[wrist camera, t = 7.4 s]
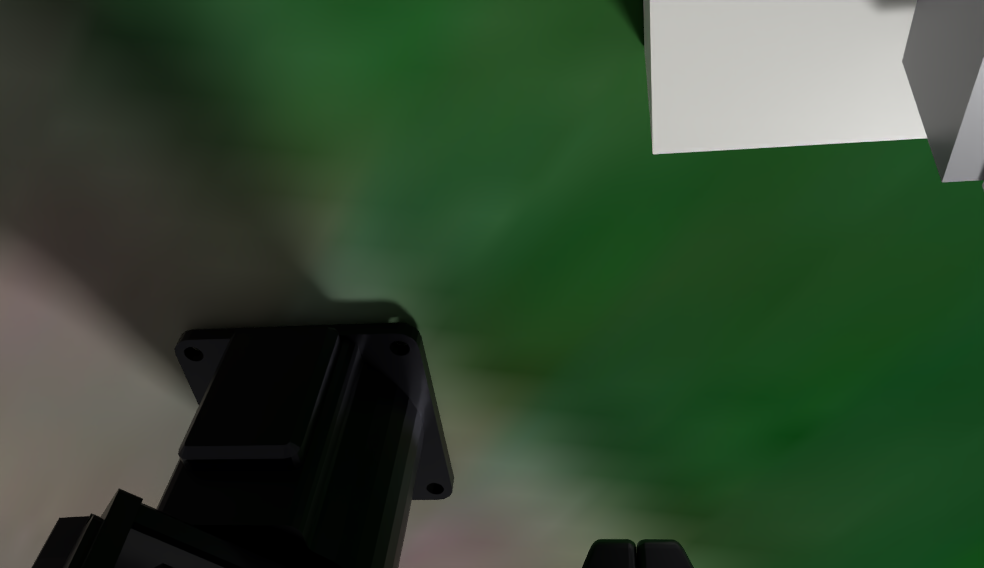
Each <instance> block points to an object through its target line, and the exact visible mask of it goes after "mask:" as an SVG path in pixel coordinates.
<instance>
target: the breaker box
mask: <svg viewBox="0 0 984 568" xmlns="http://www.w3.org/2000/svg"><path fill="white" fill-rule="evenodd" d="M916 3H917V0H643V8H644V49H645V62H646V74H647V87H648V100H649V112H650V125H651V137H652V150H653V154H665V153H682V152H699V151H716V150H733V149H750V148H767V147H784V146H801V145H818V144H835V143H852V142H869V141H886V140H903V139H920V138H927V135H926V132H925V129H924V126H923V123H922V120H921V117H920V114H919V111H918V108H917V105H916V102H915V99H914V96H913V93H912V90H911V87H910V84H909V81H908V78H907V75H906V72H905V69H904V66H903V63H902V59H903V55H904V51H905V47H906V43H907V39H908V35H909V31H910V27H911V23H912V19H913V15H914V11H915V7H916Z"/></svg>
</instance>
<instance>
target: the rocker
mask: <svg viewBox="0 0 984 568" xmlns="http://www.w3.org/2000/svg"><path fill="white" fill-rule="evenodd" d="M902 63H903V66H904V69H905V72H906V75H907V78H908V81H909V84H910V87H911V90H912V93H913V96H914V99H915V102H916V105H917V108H918V111H919V114H920V117H921V120H922V123H923V126H924V129H925V132H926V135H927V139H928V142H929V145H930V148H931V151H932V154H933V157H934V160H935V163H936V166H937V169H938V172H939V175H940V178H941V181H942V182H955V181H974V180H984V0H917V3H916V7H915V11H914V15H913V19H912V23H911V27H910V31H909V35H908V39H907V43H906V47H905V51H904V55H903V59H902ZM982 187H983V189H984V182H983V185H982Z"/></svg>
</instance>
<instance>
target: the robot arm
mask: <svg viewBox="0 0 984 568" xmlns="http://www.w3.org/2000/svg"><path fill="white" fill-rule="evenodd" d="M395 341H403V342H405V343H406V344H407V345H400V344H398V343H396V342H395ZM192 347H194V348H197V349H199V350H200V351H199V350H196V349H194V348H192ZM175 353H176V356H177V358H178V361H179V363H180V365H181V367H182V369H183V371H184V374H185V376H186V378H187V380H188V382H189V385H190V387H191V389H192V391H193V393H194V395H195V398H196V400H197V402H198V404H199V407H198V409H197V411H196V414H195V416H194V418H193V420H192V422H191V424H190V427H189V429H188V431H187V433H186V435H185V437H184V440H183V442H182V444H181V446H180V448H179V453H178V455H179V457H180V459H179V461H178V463H177V465H176V468H175V470H174V472H173V474H172V476H171V478H170V481H169V483H168V485H167V487H166V489H165V491H164V494H163V496H162V498H161V500H160V502H159V505H158V507H157V509H154V508H152V507H150V506H147V505H145V504H143V503H141V502H142V500H143V499H142V498H140V497H138V496H135V495H133V494H131V493H128V492H126V491H124V490H122V489H118V491H117V492H116V494H115V495H114V497H113V498H112V500H111V502H110V503H109V505H108V506H107V508H106V509H105V511H104V512H103V514H102V516H101V517H99V516H97V515H94V514H92V513H91V514H90V516H84V517H67V518H59V520H58V521H57V523H56V525H55V526H54V528H53V530H52V532H51V533H50V535H49V537H48V539H47V541H46V542H45V544H44V546H43V548H42V550H41V551H40V553H39V555H38V557H37V559H36V560H35V562H34V564H33V566H32V568H398V567H399V561H400V556H401V551H402V546H403V541H404V536H405V531H406V526H407V521H408V516H409V511H410V506H411V501H412V500H439V499H445V498H447V497H449V496H450V495H451V493H452V489H453V483H454V476H453V471H452V467H451V463H450V458H449V454H448V450H447V445H446V441H445V437H444V432H443V428H442V424H441V419H440V415H439V411H438V406H437V402H436V398H435V393H434V389H433V385H432V380H431V376H430V372H429V367H428V363H427V359H426V354H425V350H424V346H423V341H422V337H421V335H420V333H419V331H418V330H416V329H415V328H414V327H413V326H410V325H408V324H404V323H378V324H348V325H318V326H287V327H257V328H227V329H196V330H189V331H186V332H184V333H183V334H182V335H181V337H180V339H179V341H178V343H177V345H176V347H175ZM582 568H694V567H693V565H692V564H691V562H690V560H689V558H688V556H687V554H686V552H685V550H684V549H683V547H682V546H681V545H680V543H679V542H677V541H675V540H663V539H644V540H641V541H639V542H638V544H637V554H636V545H635V543H634V542H633V541H631V540H628V539H599V540H597V541H595V542H594V543H593V544H592V546H591V548H590V550H589V552H588V555H587V557H586V559H585V562H584V564H583V567H582Z"/></svg>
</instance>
